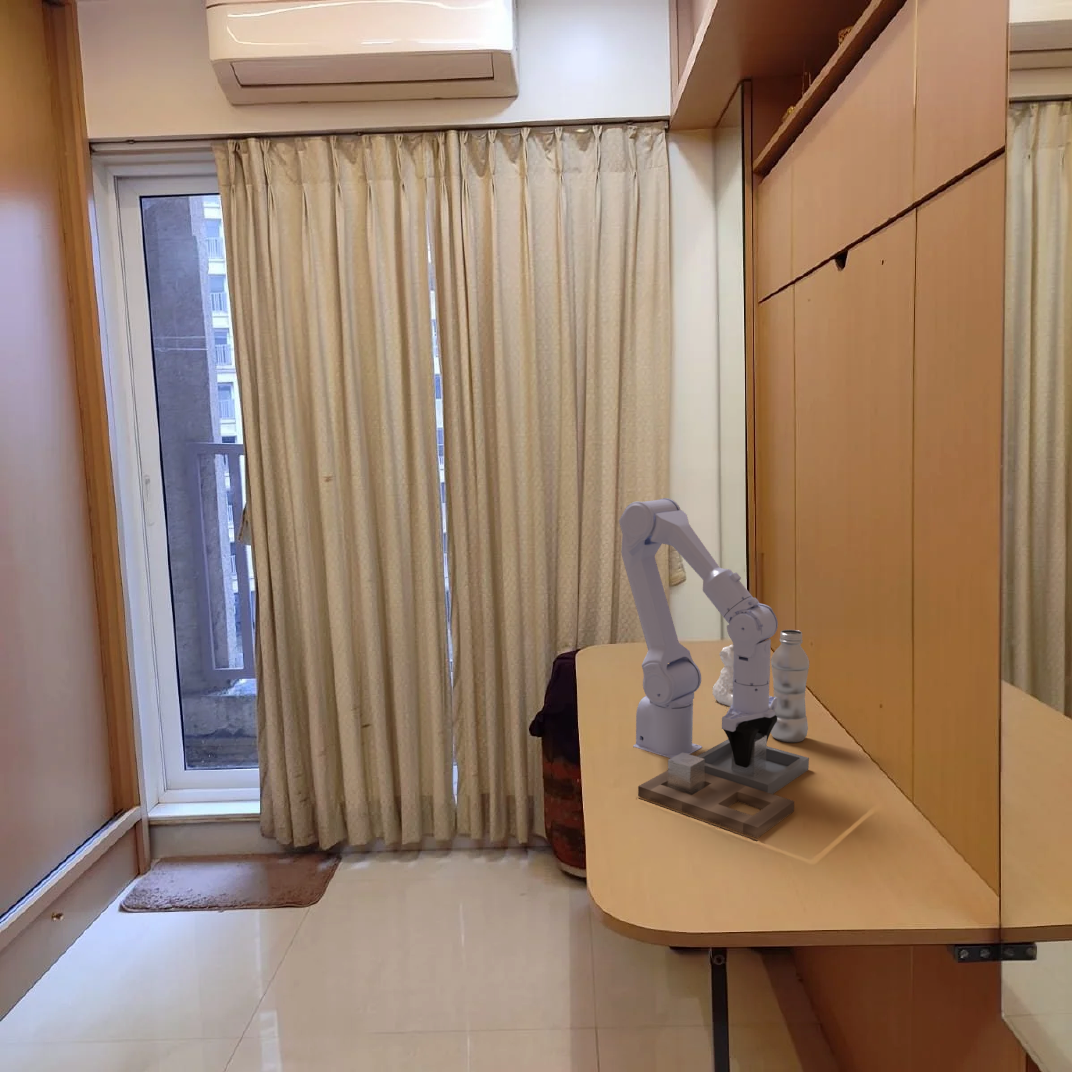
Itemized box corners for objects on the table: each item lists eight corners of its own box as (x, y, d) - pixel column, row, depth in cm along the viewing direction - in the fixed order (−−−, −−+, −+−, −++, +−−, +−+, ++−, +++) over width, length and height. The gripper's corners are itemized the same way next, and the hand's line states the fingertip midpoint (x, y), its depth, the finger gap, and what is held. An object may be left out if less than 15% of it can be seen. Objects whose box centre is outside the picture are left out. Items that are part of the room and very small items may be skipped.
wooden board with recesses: (638, 798, 130) (638, 786, 129) (678, 776, 138) (678, 764, 137) (757, 841, 116) (757, 827, 116) (793, 813, 124) (794, 801, 124)
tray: (688, 775, 138) (688, 760, 138) (732, 750, 148) (732, 736, 148) (767, 800, 129) (767, 784, 128) (808, 772, 139) (808, 757, 138)
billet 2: (731, 771, 138) (732, 735, 137) (743, 763, 141) (744, 729, 140) (753, 778, 136) (754, 742, 135) (765, 770, 138) (766, 735, 138)
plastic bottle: (809, 748, 149) (813, 637, 146) (769, 745, 150) (773, 635, 148) (805, 735, 155) (809, 628, 153) (767, 732, 157) (770, 626, 154)
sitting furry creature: (748, 712, 168) (750, 653, 166) (705, 706, 171) (707, 648, 170) (759, 698, 176) (760, 642, 174) (717, 693, 180) (719, 637, 178)
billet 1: (667, 797, 130) (668, 759, 129) (681, 788, 133) (682, 752, 132) (689, 804, 127) (690, 766, 127) (704, 796, 130) (704, 758, 130)
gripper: (751, 696, 128) (749, 782, 130) (795, 675, 139) (792, 754, 141) (710, 687, 133) (709, 769, 135) (755, 667, 144) (753, 744, 145)
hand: (748, 761), depth 138 cm, fingers closed on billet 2, 4 cm apart
